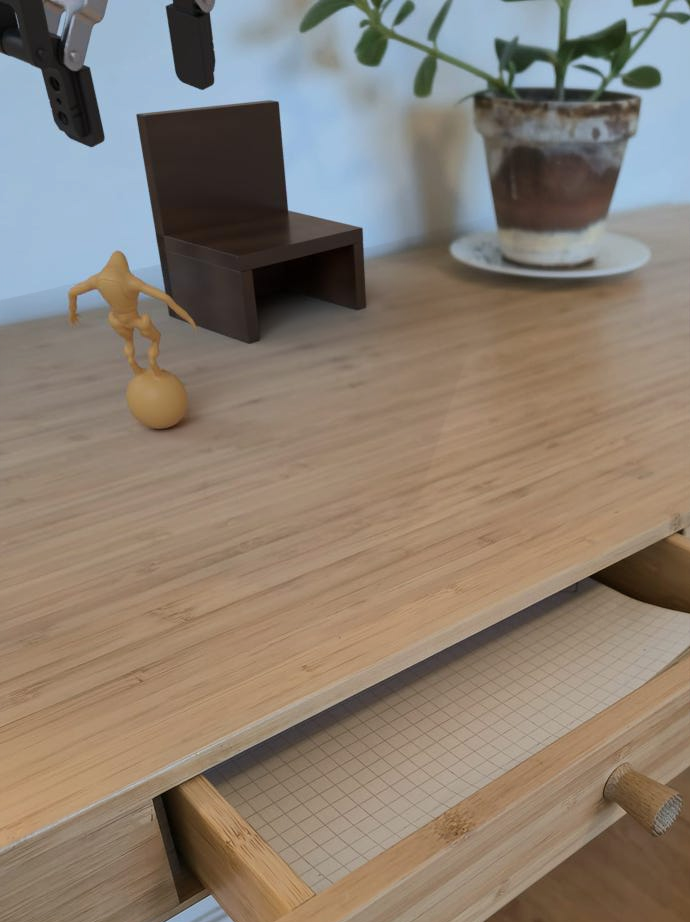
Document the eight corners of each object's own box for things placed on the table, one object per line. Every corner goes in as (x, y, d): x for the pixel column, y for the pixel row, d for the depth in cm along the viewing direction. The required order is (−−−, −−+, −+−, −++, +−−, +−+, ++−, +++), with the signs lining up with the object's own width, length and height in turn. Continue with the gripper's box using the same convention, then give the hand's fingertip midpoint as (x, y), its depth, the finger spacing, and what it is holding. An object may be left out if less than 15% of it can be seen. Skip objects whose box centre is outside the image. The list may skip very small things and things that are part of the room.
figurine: (229, 418, 67) (205, 239, 60) (201, 454, 62) (170, 264, 55) (115, 411, 68) (78, 232, 61) (78, 446, 63) (33, 256, 56)
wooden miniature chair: (168, 315, 86) (135, 113, 76) (286, 284, 94) (270, 99, 85) (249, 343, 80) (223, 129, 71) (366, 307, 89) (357, 113, 80)
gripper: (121, -342, 43) (177, 49, 56) (-152, -309, 35) (-13, 137, 48) (254, -307, 41) (281, 88, 54) (-3, -264, 33) (100, 187, 46)
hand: (142, 111), depth 51 cm, fingers open, 8 cm apart
